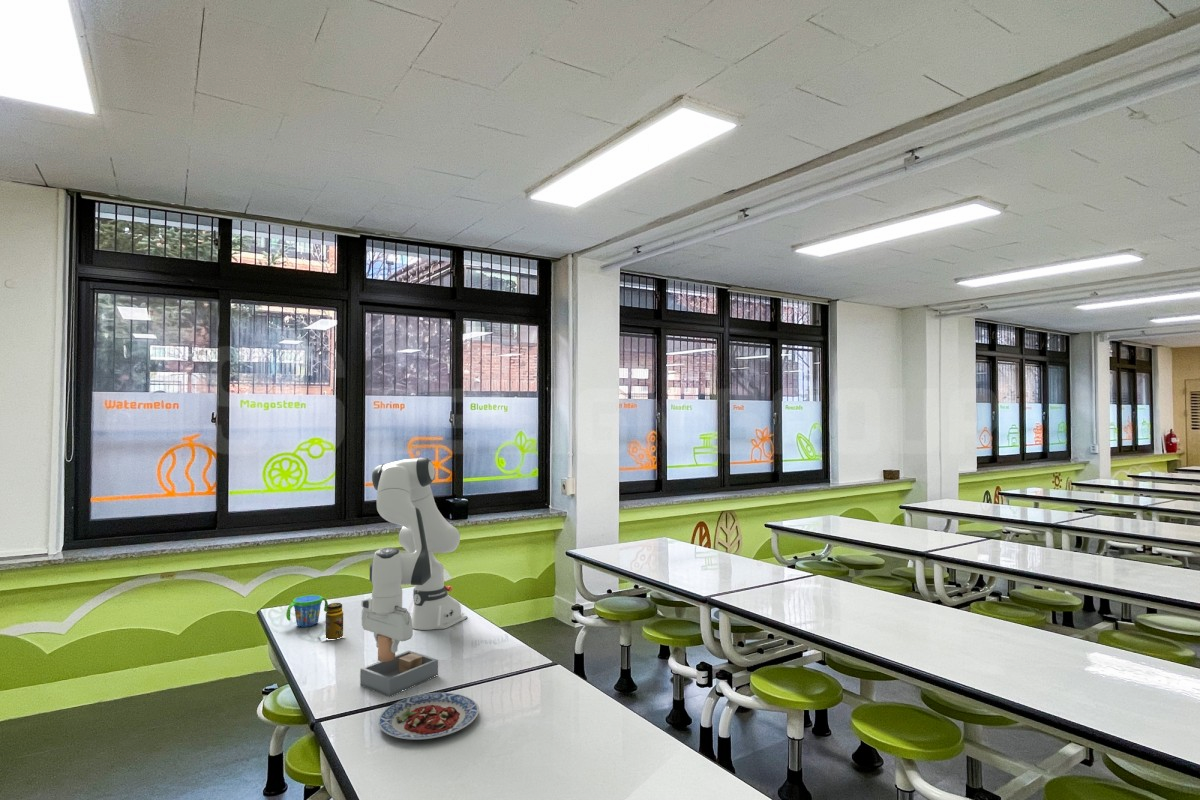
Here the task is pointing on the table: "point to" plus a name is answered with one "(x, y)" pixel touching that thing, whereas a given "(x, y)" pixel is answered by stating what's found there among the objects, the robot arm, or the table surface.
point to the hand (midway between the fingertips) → (386, 649)
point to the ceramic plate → (428, 716)
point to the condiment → (334, 621)
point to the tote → (397, 675)
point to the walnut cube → (409, 662)
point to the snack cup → (307, 609)
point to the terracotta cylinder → (385, 649)
